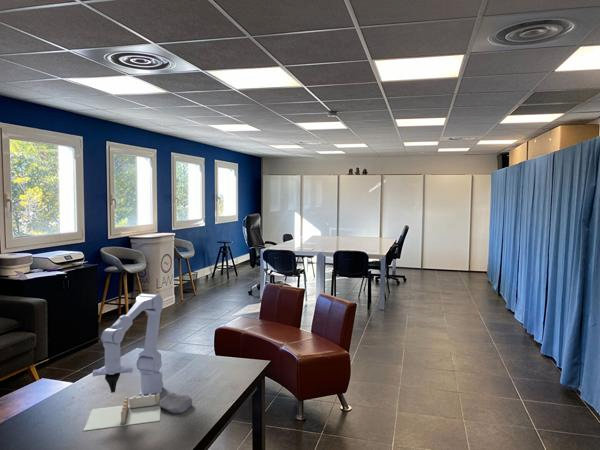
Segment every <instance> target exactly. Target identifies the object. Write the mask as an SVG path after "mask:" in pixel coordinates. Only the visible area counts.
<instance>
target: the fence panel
mask: <svg viewBox="0 0 600 450" xmlns="http://www.w3.org/2000/svg"><path fill="white" fill-rule="evenodd" d="M122 406H123V407H122V411H121V424H124V423H125V419H126V414H127V409H128V407H127V400H125V399H124V400H123V403H122Z"/></svg>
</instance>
